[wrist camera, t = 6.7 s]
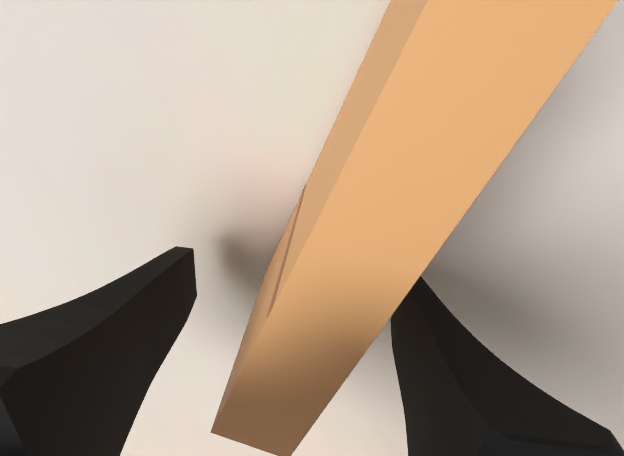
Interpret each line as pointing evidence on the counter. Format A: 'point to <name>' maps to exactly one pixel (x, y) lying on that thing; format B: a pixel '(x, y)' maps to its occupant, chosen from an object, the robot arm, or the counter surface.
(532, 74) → the orange rectangular block
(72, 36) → the counter surface
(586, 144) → the counter surface
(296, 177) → the counter surface
